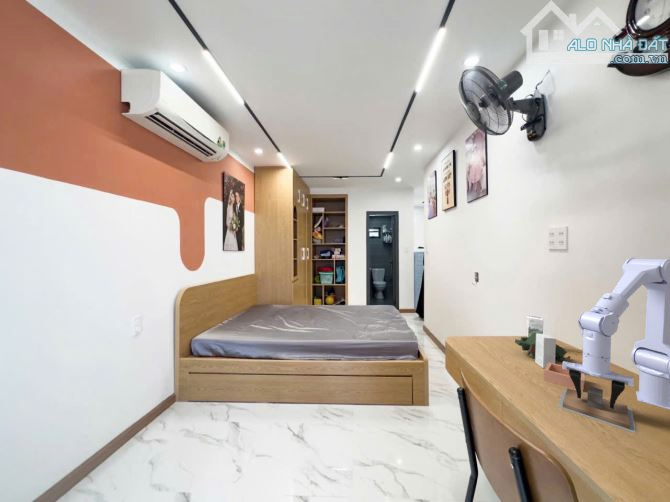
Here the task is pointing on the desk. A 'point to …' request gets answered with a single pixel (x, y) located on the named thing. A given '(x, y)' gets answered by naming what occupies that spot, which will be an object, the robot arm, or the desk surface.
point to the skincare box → (545, 349)
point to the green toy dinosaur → (530, 347)
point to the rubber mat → (630, 414)
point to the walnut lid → (597, 406)
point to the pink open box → (560, 376)
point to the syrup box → (534, 325)
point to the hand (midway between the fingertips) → (594, 401)
